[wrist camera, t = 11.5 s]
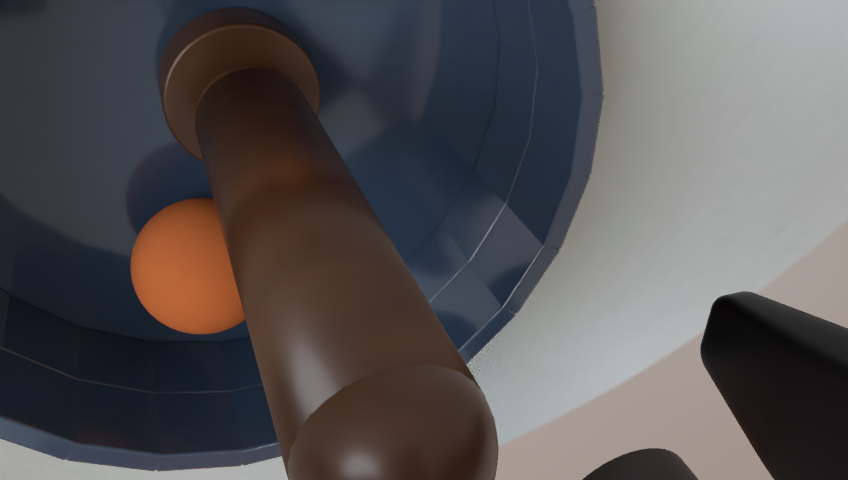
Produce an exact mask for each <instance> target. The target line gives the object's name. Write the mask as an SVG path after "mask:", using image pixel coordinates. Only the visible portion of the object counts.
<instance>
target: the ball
mask: <svg viewBox="0 0 848 480" xmlns="http://www.w3.org/2000/svg"><path fill="white" fill-rule="evenodd" d="M130 268H131V278H132V283H133V286H134V289H135V292H136V294H137V296H138V298H139V300H140V301H141V303H142V305H143V306H144V307H145V308H146V310H147V311H148V312H149V313H150V314H151V315H152V316H153V317H155V318H156V319H157V320H158V321H160V322H161V323H163V324H164V325H166V326H168V327H170V328H172V329H175V330H178V331H181V332H184V333H190V334H212V333H218V332H221V331H224V330H227V329H230V328H232V327H234V326H236V325H238V324H239V323H241V322H243V321H244V320H245V315H244V312H243V308H242V304H241V300H240V297H239V293H238V289H237V286H236V282H235V278H234V274H233V271H232V267H231V263H230V259H229V256H228V252H227V248H226V244H225V241H224V237H223V233H222V229H221V226H220V222H219V218H218V214H217V211H216V207H215V203H214V199H213V198H191V199H186V200H182V201H179V202H176V203H174V204H171V205H169V206H167V207H166V208H164V209H162V210H161V211H159V212H158V213H157V214H156V215H154V216H153V217H152V218H151V219H150V220H149V221H148V222H147V223H146V225H145V226H144V227H143V229H142V230H141V232H140V233H139V235H138V237H137V239H136V242H135V244H134V247H133V250H132V256H131V266H130Z"/></svg>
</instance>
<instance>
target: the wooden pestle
mask: <svg viewBox="0 0 848 480" xmlns="http://www.w3.org/2000/svg"><path fill="white" fill-rule="evenodd" d="M158 83H159V92H160V97H161V102H162V107H163V112H164V116H165V119H166V122H167V124H168V127H169V129H170V131H171V132H172V134H173V136H174V137H175V139H176V140H177V141H178V143H179V144H180V145H181V146H182V147H183V148H184V149H185V150H186V151H187V152H188V153H190V154H191V155H192V156H194V157H195V158H197V159H199V160H200V161H202V162H204V166H205V170H206V173H207V177H208V181H209V184H210V188H211V192H212V196H213V199H214V203H215V207H216V211H217V214H218V218H219V222H220V226H221V229H222V233H223V237H224V241H225V244H226V248H227V252H228V256H229V259H230V263H231V267H232V271H233V274H234V278H235V282H236V286H237V289H238V293H239V297H240V300H241V304H242V308H243V312H244V315H245V319H246V323H247V327H248V330H249V334H250V338H251V342H252V345H253V349H254V353H255V357H256V360H257V364H258V368H259V372H260V375H261V379H262V383H263V387H264V390H265V394H266V398H267V402H268V405H269V409H270V413H271V416H272V420H273V424H274V428H275V431H276V435H277V439H278V443H279V446H280V450H281V454H282V458H283V461H284V465H285V469H286V473H287V476H288V480H494V479H495V475H496V469H497V460H498V439H497V432H496V426H495V420H494V417H493V415H492V412H491V410H490V408H489V405H488V403H487V401H486V398H485V395H484V394H483V392H482V390H481V389H480V387H479V385H478V384H477V382H476V380H475V379H474V377H473V375H472V374H471V372H470V370H469V369H468V367H467V365H466V364H465V362H464V360H463V359H462V357H461V355H460V354H459V352H458V350H457V349H456V347H455V345H454V344H453V342H452V340H451V339H450V337H449V336H448V334H447V332H446V331H445V329H444V327H443V326H442V324H441V322H440V321H439V319H438V317H437V316H436V314H435V312H434V311H433V309H432V307H431V306H430V304H429V302H428V301H427V299H426V297H425V296H424V294H423V292H422V291H421V289H420V287H419V286H418V284H417V282H416V281H415V279H414V277H413V276H412V274H411V272H410V271H409V269H408V267H407V266H406V264H405V262H404V261H403V259H402V257H401V256H400V254H399V252H398V251H397V249H396V247H395V246H394V244H393V242H392V241H391V239H390V237H389V236H388V234H387V232H386V231H385V229H384V227H383V226H382V224H381V222H380V221H379V219H378V217H377V216H376V214H375V212H374V211H373V209H372V207H371V206H370V204H369V202H368V201H367V199H366V197H365V196H364V194H363V192H362V191H361V189H360V187H359V186H358V184H357V182H356V181H355V179H354V177H353V176H352V174H351V172H350V171H349V169H348V167H347V166H346V164H345V162H344V161H343V159H342V158H341V156H340V154H339V153H338V151H337V149H336V148H335V146H334V144H333V143H332V141H331V139H330V138H329V136H328V134H327V133H326V131H325V129H324V128H323V126H322V124H321V123H320V121H319V119H318V118H317V117H318V114H319V111H320V104H321V87H320V81H319V77H318V73H317V71H316V68H315V66H314V64H313V62H312V60H311V59H310V57H309V55H308V54H307V52H306V51H305V50H304V48H303V47H302V45H301V44H300V42H299V41H298V40H297V38H296V37H295V36H294V35H293V33H292V32H291V31H290V30H289V29H288V28H287V27H286V26H284V25H283V24H282V23H280V22H279V21H278V20H276V19H274V18H272V17H270V16H269V15H266V14H264V13H261V12H258V11H254V10H250V9H244V8H225V9H218V10H214V11H211V12H208V13H205V14H203V15H200V16H198V17H197V18H195V19H193V20H191V21H190V22H188V23H187V24H186V25H185V26H183V27H182V28H181V29H180V30H179V31H178V32H177V33H176V34H175V35H174V37H173V38H172V40H171V41H170V42H169V44H168V46H167V48H166V50H165V51H164V54H163V57H162V60H161V63H160V68H159V78H158Z"/></svg>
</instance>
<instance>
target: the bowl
mask: <svg viewBox="0 0 848 480" xmlns="http://www.w3.org/2000/svg"><path fill="white" fill-rule="evenodd" d="M594 4H595V2H594V0H0V439H3V440H6V441H9V442H12V443H15V444H18V445H21V446H24V447H27V448H30V449H33V450H36V451H39V452H42V453H45V454H48V455H51V456H53V457H56V458H59V459H62V460H65V459H67V460H68V461H75V462H84V463H92V464H100V465H108V466H116V467H124V468H132V469H140V470H148V471H155V470H157V471H170V470H185V469H200V468H216V467H231V466H241V465H242V464H243V465H248V464H252V463H256V462H260V461H264V460H268V459H272V458H276V457H280V456H282V454H281V450H280V446H279V443H278V439H277V435H276V431H275V428H274V424H273V420H272V416H271V413H270V409H269V405H268V402H267V398H266V394H265V390H264V387H263V383H262V379H261V375H260V372H259V368H258V364H257V360H256V357H255V353H254V349H253V345H252V342H251V338H250V334H249V330H248V327H247V323H246V319H245V320H244V321H243V322H241V323H239V324H238V325H236V326H234V327H232V328H230V329H227V330H224V331H221V332H218V333H212V334H190V333H184V332H181V331H178V330H175V329H172V328H170V327H168V326H166V325H164V324H163V323H161V322H160V321H158V320H157V319H156V318H155V317H153V316H152V315H151V314H150V313H149V312H148V311H147V310H146V308H145V307H144V306H143V305H142V303H141V301H140V300H139V298H138V296H137V294H136V292H135V289H134V286H133V283H132V278H131V268H130V266H131V256H132V250H133V247H134V244H135V242H136V239H137V237H138V235H139V233H140V232H141V230H142V229H143V227H144V226H145V225H146V223H147V222H148V221H149V220H150V219H151V218H152V217H153V216H154V215H156V214H157V213H158V212H159V211H161V210H162V209H164V208H166V207H167V206H169V205H171V204H174V203H176V202H179V201H182V200H186V199H191V198H213V196H212V192H211V188H210V184H209V181H208V177H207V173H206V170H205V166H204V162H202V161H200V160H199V159H197V158H195V157H194V156H192V155H191V154H190V153H188V152H187V151H186V150H185V149H184V148H183V147H182V146H181V145H180V144H179V143H178V141H177V140H176V139H175V137H174V136H173V134H172V132H171V131H170V129H169V127H168V124H167V122H166V119H165V116H164V112H163V107H162V102H161V97H160V92H159V83H158V78H159V68H160V63H161V60H162V57H163V54H164V51H165V50H166V48H167V46H168V44H169V42H170V41H171V40H172V38H173V37H174V35H175V34H176V33H177V32H178V31H179V30H180V29H181V28H182V27H183V26H185V25H186V24H187V23H188V22H190V21H191V20H193V19H195V18H197V17H198V16H200V15H203V14H205V13H208V12H211V11H214V10H218V9H225V8H244V9H250V10H254V11H258V12H261V13H264V14H266V15H269V16H270V17H272V18H274V19H276V20H278V21H279V22H280V23H282V24H283V25H284V26H286V27H287V28H288V29H289V30H290V31H291V32H292V33H293V35H294V36H295V37H296V38H297V40H298V41H299V42H300V44H301V45H302V47H303V48H304V50H305V51H306V52H307V54H308V55H309V57H310V59H311V60H312V62H313V64H314V66H315V68H316V71H317V73H318V77H319V81H320V87H321V104H320V111H319V114H318V117H317V118H318V119H319V121H320V123H321V124H322V126H323V128H324V129H325V131H326V133H327V134H328V136H329V138H330V139H331V141H332V143H333V144H334V146H335V148H336V149H337V151H338V153H339V154H340V156H341V158H342V159H343V161H344V162H345V164H346V166H347V167H348V169H349V171H350V172H351V174H352V176H353V177H354V179H355V181H356V182H357V184H358V186H359V187H360V189H361V191H362V192H363V194H364V196H365V197H366V199H367V201H368V202H369V204H370V206H371V207H372V209H373V211H374V212H375V214H376V216H377V217H378V219H379V221H380V222H381V224H382V226H383V227H384V229H385V231H386V232H387V234H388V236H389V237H390V239H391V241H392V242H393V244H394V246H395V247H396V249H397V251H398V252H399V254H400V256H401V257H402V259H403V261H404V262H405V264H406V266H407V267H408V269H409V271H410V272H411V274H412V276H413V277H414V279H415V281H416V282H417V284H418V286H419V287H420V289H421V291H422V292H423V294H424V296H425V297H426V299H427V301H428V302H429V304H430V306H431V307H432V309H433V311H434V312H435V314H436V316H437V317H438V319H439V321H440V322H441V324H442V326H443V327H444V329H445V331H446V332H447V334H448V336H449V337H450V339H451V340H452V342H453V344H454V345H455V347H456V349H457V350H458V352H459V354H460V355H461V357H462V359H463V360H464V362H465V364H467V363H468V362H469V361H470V360H471V359H472V358H473V357H474V356H475V355H476V354H477V353H478V352H479V351H480V350H481V349H482V348H483V347H484V346H485V345H486V344H487V343H488V342H489V341H490V340H491V339H492V338H493V337H494V336H495V335H496V334H497V333H498V332H499V331H500V330H501V329H502V328H503V327H504V326H505V325H506V324H507V323H508V322H509V321H510V320H511V319H512V318H513V317H514V316H515V315H516V314H515V313H517V312H518V311H519V310H520V308H521V307H522V305H523V304H524V302H525V301H526V300H527V298H528V297H529V295H530V294H531V292H532V291H533V289H534V288H535V286H536V285H537V283H538V282H539V280H540V279H541V277H542V276H543V274H544V273H545V271H546V270H547V269H548V267H549V266H550V264H551V263H552V261H553V260H554V258H555V257H556V255H557V254H558V252H559V249H560V248H561V247H562V244H563V242H564V239H565V237H566V234H567V232H568V230H569V227H570V225H571V222H572V220H573V217H574V215H575V212H576V210H577V207H578V205H579V202H580V200H581V198H582V195H583V193H584V190H585V188H586V185H587V183H588V180H589V175H590V174H591V170H592V163H593V157H594V151H595V144H596V138H597V132H598V126H599V119H600V113H601V107H602V101H603V83H602V71H601V60H600V49H599V38H598V27H597V16H596V7H595V6H594Z"/></svg>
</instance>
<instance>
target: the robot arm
mask: <svg viewBox="0 0 848 480" xmlns="http://www.w3.org/2000/svg"><path fill="white" fill-rule="evenodd" d="M700 349H701V358H702V361H703V364H704V366H705V368H706V370H707V371H708V373H709V375H710V376H711V378H712V380H713V381H714V383H715V385H716V386H717V388H718V390H719V391H720V393H721V395H722V396H723V398H724V400H725V401H726V403H727V405H728V406H729V408H730V410H731V411H732V413H733V415H734V416H735V418H736V420H737V421H738V423H739V425H740V426H741V428H742V430H743V431H744V433H745V434H746V436H747V438H748V439H749V441H750V443H751V445H752V446H753V448H754V450H755V451H756V453H757V455H758V456H759V458H760V459H761V461H762V462H763V464H764V465H765V467H766V468H767V470H768V471H769V473H770V474H771V476H772V477H773V478H774V480H848V328H845V327H842V326H840V325H837V324H834V323H832V322H829V321H826V320H824V319H821V318H818V317H816V316H813V315H811V314H808V313H805V312H803V311H800V310H797V309H795V308H792V307H789V306H787V305H784V304H781V303H779V302H776V301H773V300H771V299H768V298H765V297H763V296H760V295H758V294H755V293H752V292H738V293H734V294H729V295H725V296H721V297H719V298H717V300H716V301H715V302H714V303H713V305H712V308H711V311H710V315H709V318H708V322H707V325H706V329H705V332H704V336H703V339H702V343H701V348H700Z"/></svg>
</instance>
